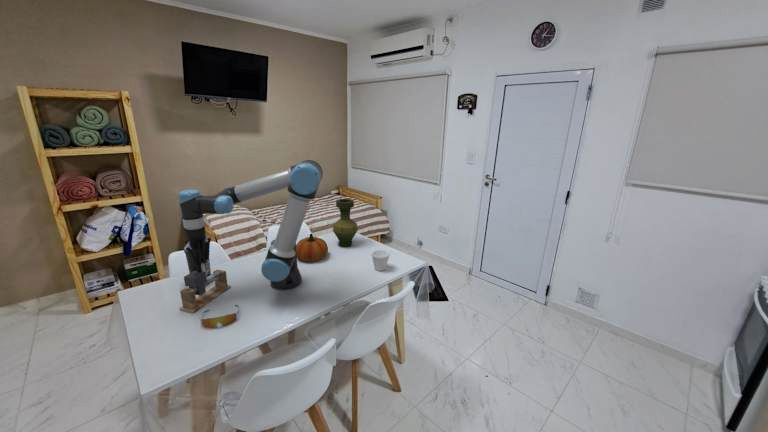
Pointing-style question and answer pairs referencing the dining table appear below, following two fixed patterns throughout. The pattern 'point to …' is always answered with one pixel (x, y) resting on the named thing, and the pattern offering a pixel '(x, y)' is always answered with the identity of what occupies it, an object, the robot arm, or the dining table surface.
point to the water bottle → (193, 268)
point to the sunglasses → (219, 319)
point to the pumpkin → (311, 249)
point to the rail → (195, 304)
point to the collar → (196, 281)
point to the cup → (380, 259)
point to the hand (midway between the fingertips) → (202, 277)
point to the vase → (345, 223)
